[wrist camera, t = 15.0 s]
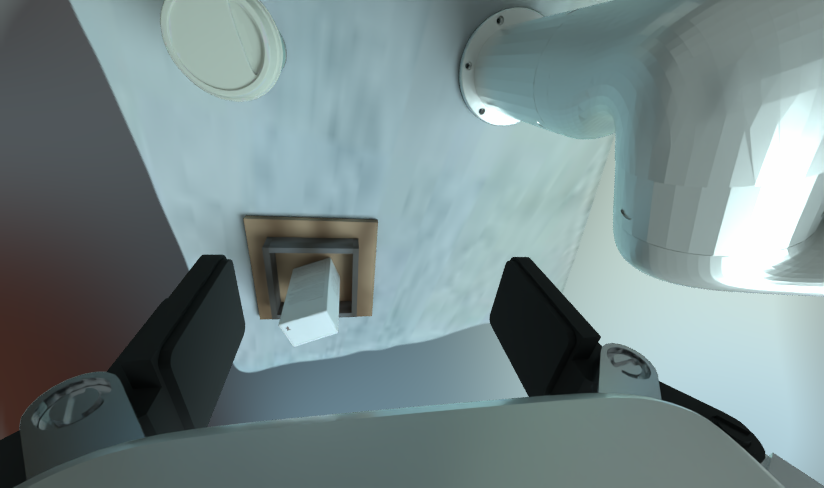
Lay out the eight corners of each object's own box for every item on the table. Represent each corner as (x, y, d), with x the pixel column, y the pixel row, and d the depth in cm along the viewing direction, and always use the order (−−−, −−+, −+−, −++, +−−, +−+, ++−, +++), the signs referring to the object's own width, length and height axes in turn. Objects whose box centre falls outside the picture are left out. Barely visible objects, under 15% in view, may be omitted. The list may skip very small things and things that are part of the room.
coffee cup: (289, 104, 37) (265, 121, 27) (208, 71, 34) (146, 75, 24) (308, 24, 33) (290, 8, 23) (220, -20, 31) (155, -61, 20)
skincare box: (304, 288, 49) (292, 348, 39) (292, 267, 47) (276, 325, 37) (341, 277, 49) (339, 334, 39) (331, 255, 47) (325, 309, 37)
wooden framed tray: (377, 219, 46) (379, 232, 43) (371, 312, 55) (372, 328, 51) (245, 215, 43) (236, 228, 39) (261, 315, 51) (255, 333, 48)
